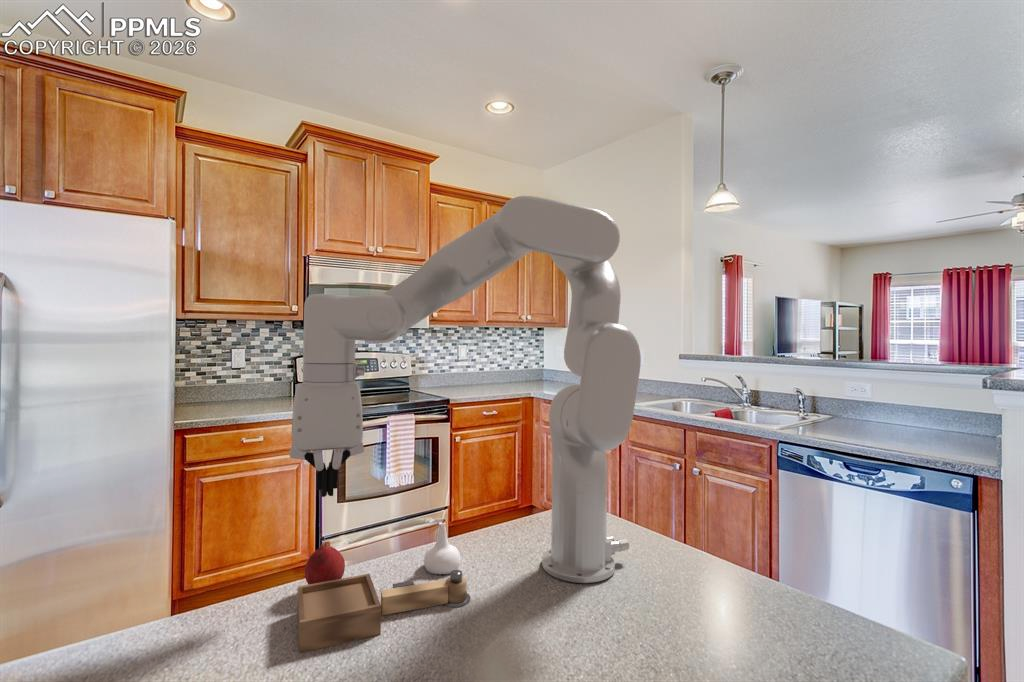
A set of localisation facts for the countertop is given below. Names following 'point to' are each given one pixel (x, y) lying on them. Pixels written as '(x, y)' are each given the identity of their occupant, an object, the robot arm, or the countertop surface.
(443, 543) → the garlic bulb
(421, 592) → the leg
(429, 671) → the countertop surface
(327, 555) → the onion
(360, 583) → the wooden tray
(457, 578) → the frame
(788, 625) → the countertop surface
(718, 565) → the countertop surface
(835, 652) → the countertop surface
